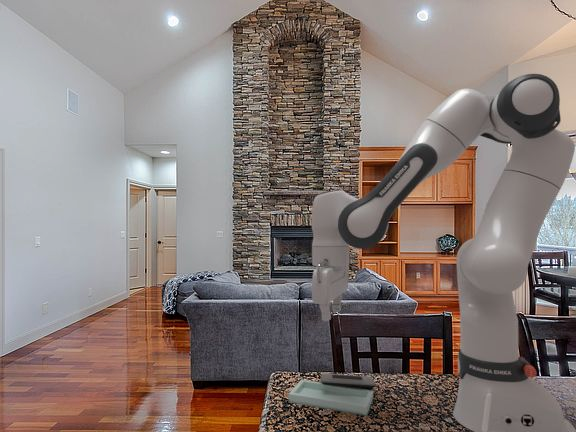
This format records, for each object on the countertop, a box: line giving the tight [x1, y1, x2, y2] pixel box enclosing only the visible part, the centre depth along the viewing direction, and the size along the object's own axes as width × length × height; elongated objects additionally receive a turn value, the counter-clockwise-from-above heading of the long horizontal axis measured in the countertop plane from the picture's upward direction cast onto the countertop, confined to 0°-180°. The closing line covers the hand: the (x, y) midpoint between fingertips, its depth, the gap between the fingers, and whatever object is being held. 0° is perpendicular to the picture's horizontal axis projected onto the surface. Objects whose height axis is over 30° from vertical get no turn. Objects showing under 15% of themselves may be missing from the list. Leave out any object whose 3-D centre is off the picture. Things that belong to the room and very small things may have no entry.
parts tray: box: [288, 379, 374, 417], centre depth 93 cm, size 18×9×2 cm, turn 69°
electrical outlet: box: [320, 372, 376, 389], centre depth 100 cm, size 13×10×2 cm
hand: (331, 315), depth 94 cm, fingers open, 8 cm apart
